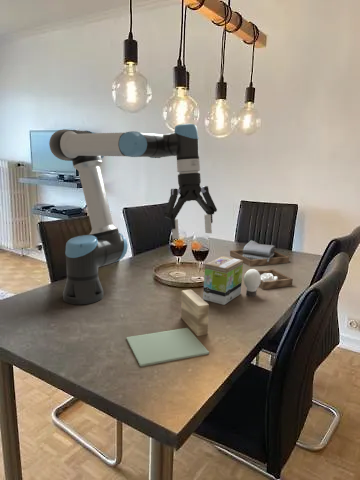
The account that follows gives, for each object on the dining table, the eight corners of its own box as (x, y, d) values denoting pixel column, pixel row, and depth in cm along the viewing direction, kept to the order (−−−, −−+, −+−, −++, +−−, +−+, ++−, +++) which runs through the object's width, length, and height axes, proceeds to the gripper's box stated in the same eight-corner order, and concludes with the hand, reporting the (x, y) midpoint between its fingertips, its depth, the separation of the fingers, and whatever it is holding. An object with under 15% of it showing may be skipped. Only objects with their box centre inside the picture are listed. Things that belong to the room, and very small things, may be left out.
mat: (140, 366, 98) (140, 364, 98) (126, 338, 113) (126, 337, 113) (209, 353, 106) (209, 352, 105) (187, 329, 120) (187, 327, 120)
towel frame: (249, 266, 191) (250, 260, 190) (229, 255, 210) (230, 250, 209) (288, 262, 199) (289, 257, 199) (266, 252, 218) (266, 247, 218)
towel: (241, 260, 199) (242, 246, 197) (248, 252, 215) (249, 239, 214) (270, 263, 193) (271, 249, 192) (275, 255, 210) (276, 242, 208)
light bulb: (245, 298, 147) (247, 271, 145) (240, 292, 154) (242, 266, 151) (262, 298, 148) (264, 271, 146) (256, 291, 155) (258, 266, 152)
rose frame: (262, 289, 158) (263, 282, 157) (244, 278, 172) (244, 272, 171) (292, 285, 164) (292, 279, 163) (272, 275, 177) (272, 269, 176)
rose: (284, 274, 165) (269, 278, 159) (283, 283, 166) (269, 288, 160) (266, 268, 173) (252, 272, 167) (265, 277, 174) (251, 281, 168)
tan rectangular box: (197, 336, 116) (198, 306, 114) (181, 317, 129) (181, 290, 126) (207, 334, 117) (209, 304, 115) (190, 316, 130) (191, 289, 128)
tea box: (225, 305, 140) (227, 268, 136) (202, 300, 145) (203, 263, 142) (241, 294, 152) (243, 259, 149) (219, 289, 157) (221, 255, 154)
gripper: (162, 174, 115) (167, 242, 118) (225, 170, 128) (227, 231, 131) (150, 175, 121) (155, 239, 124) (211, 171, 134) (214, 230, 137)
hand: (192, 235), depth 128 cm, fingers open, 13 cm apart
